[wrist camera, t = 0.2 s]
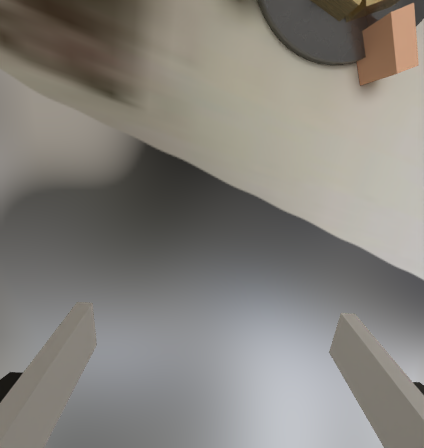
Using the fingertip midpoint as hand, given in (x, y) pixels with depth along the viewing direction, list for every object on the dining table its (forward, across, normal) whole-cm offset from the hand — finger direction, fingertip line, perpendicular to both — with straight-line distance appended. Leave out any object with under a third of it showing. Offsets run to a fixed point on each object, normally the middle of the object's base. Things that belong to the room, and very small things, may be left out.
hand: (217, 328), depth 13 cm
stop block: (+28, +20, +21) cm, 40 cm away
